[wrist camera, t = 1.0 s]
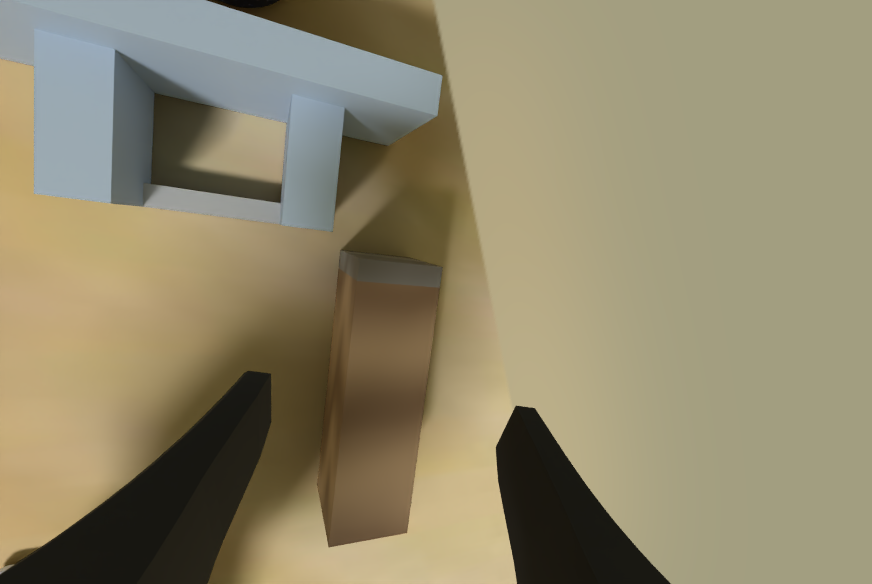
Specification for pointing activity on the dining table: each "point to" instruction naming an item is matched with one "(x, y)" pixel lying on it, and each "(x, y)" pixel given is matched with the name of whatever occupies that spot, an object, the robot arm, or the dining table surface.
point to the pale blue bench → (199, 98)
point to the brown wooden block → (375, 394)
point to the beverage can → (249, 3)
